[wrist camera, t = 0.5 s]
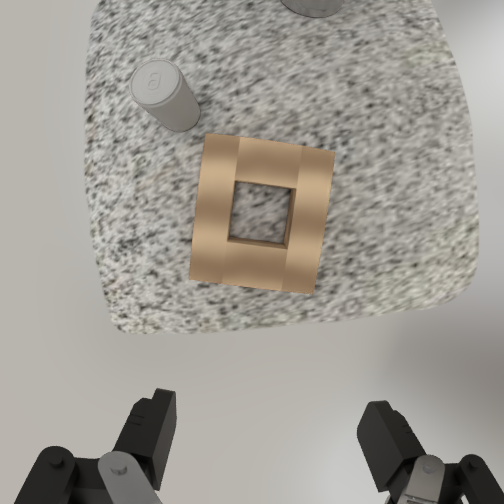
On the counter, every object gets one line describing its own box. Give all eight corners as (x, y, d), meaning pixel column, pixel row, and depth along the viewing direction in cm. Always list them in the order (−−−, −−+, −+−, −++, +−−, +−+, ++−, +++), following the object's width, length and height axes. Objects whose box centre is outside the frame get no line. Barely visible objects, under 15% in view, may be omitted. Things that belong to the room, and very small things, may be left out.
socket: (210, 139, 33) (205, 133, 29) (325, 156, 34) (335, 152, 30) (195, 270, 36) (188, 279, 32) (306, 283, 37) (313, 294, 33)
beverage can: (160, 132, 33) (122, 106, 21) (166, 96, 32) (133, 58, 20) (198, 133, 33) (175, 106, 21) (203, 97, 32) (185, 56, 20)
